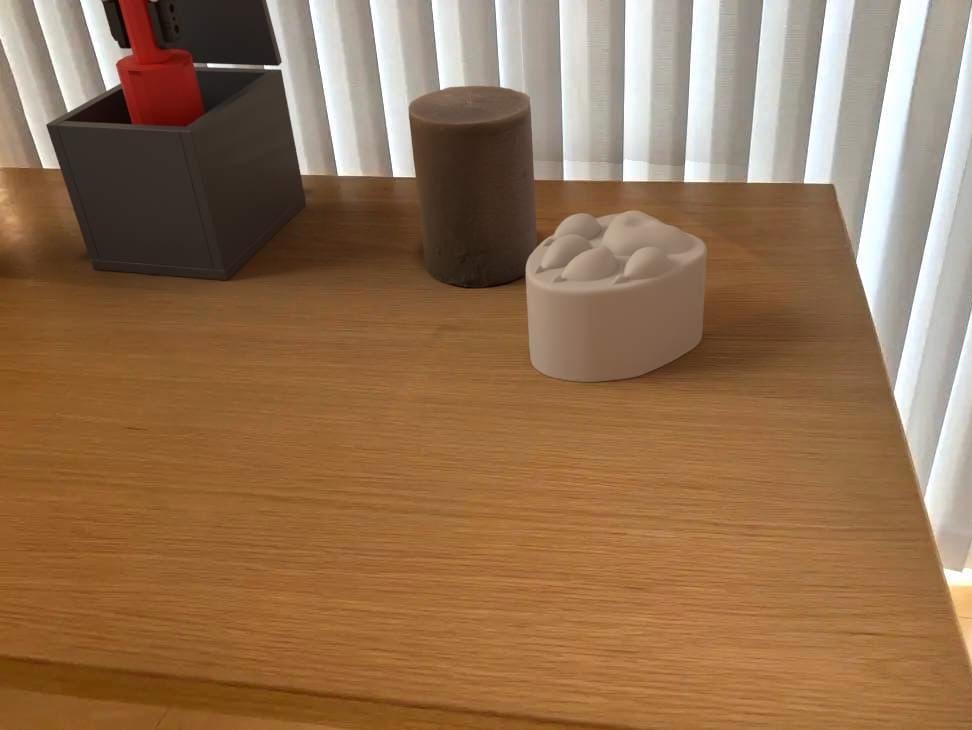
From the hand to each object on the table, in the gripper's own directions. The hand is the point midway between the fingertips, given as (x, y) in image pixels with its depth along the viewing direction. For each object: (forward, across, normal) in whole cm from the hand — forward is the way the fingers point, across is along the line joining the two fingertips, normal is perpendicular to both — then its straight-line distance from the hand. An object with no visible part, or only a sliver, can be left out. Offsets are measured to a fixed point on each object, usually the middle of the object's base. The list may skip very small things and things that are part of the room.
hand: (149, 45), depth 82 cm
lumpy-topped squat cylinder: (+18, -40, +11) cm, 45 cm away
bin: (+17, 0, -1) cm, 17 cm away
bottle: (+10, 0, 0) cm, 10 cm away
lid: (-4, 0, -7) cm, 9 cm away
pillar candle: (+18, -27, 0) cm, 32 cm away
